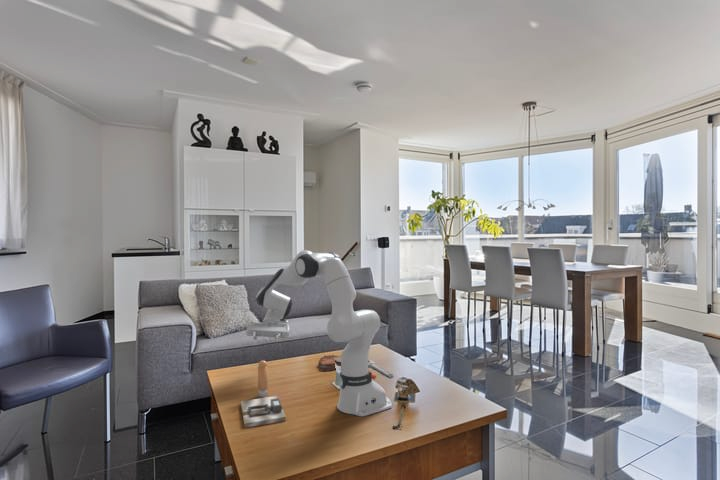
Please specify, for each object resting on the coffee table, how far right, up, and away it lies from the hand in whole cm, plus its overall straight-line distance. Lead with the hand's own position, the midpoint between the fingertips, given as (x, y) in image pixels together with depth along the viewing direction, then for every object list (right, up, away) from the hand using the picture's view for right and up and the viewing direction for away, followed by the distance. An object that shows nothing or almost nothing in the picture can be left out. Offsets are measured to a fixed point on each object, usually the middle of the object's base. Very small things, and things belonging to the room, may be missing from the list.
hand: (265, 338), depth 178 cm
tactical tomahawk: (+61, -23, -28) cm, 71 cm away
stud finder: (+10, -21, -25) cm, 35 cm away
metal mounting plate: (+5, -23, -25) cm, 34 cm away
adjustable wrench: (+53, -22, +22) cm, 61 cm away
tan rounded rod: (+1, -22, -10) cm, 24 cm away
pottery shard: (+29, -22, +29) cm, 46 cm away
